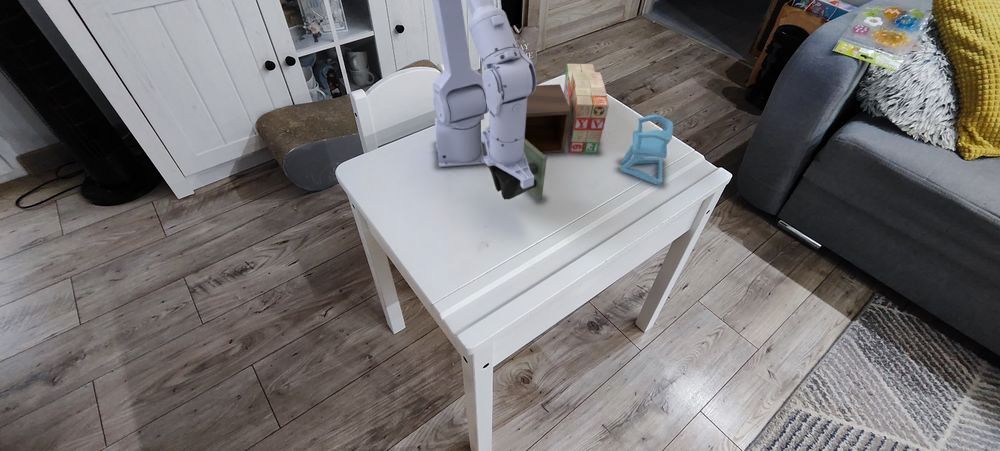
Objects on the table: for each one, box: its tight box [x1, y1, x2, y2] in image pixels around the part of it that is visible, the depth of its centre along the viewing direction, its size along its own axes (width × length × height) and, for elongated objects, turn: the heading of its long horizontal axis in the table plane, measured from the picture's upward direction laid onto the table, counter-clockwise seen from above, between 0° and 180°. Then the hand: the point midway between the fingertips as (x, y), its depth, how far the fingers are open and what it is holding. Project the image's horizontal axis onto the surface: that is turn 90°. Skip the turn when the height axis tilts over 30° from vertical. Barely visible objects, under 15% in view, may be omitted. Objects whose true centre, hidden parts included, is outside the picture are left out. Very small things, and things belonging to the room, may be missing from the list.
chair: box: [620, 114, 674, 186], centre depth 90 cm, size 8×8×12 cm
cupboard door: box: [506, 138, 548, 201], centre depth 87 cm, size 8×15×10 cm, turn 35°
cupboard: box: [524, 83, 571, 155], centre depth 97 cm, size 10×15×11 cm
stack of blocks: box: [563, 63, 610, 154], centre depth 101 cm, size 21×6×12 cm, turn 179°
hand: (505, 192), depth 84 cm, fingers closed
